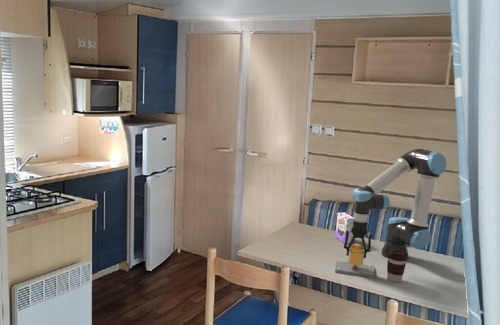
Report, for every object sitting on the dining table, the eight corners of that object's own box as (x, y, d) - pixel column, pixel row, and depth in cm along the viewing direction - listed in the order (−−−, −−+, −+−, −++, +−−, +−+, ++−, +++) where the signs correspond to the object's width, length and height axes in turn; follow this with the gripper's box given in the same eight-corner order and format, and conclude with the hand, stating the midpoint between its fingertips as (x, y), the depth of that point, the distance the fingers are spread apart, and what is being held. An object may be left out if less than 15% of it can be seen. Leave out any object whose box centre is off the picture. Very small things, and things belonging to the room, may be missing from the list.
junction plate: (373, 268, 263) (375, 255, 262) (374, 278, 250) (376, 264, 248) (336, 263, 267) (337, 249, 266) (334, 272, 254) (336, 258, 252)
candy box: (334, 236, 314) (337, 212, 311) (342, 236, 315) (345, 212, 313) (344, 244, 301) (347, 218, 298) (353, 243, 302) (356, 218, 300)
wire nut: (361, 261, 260) (363, 244, 259) (361, 266, 254) (363, 248, 252) (349, 260, 261) (351, 242, 260) (349, 264, 255) (351, 246, 254)
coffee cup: (389, 274, 256) (392, 247, 254) (407, 280, 250) (411, 252, 248) (381, 279, 249) (384, 251, 246) (399, 285, 243) (403, 257, 240)
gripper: (379, 221, 256) (373, 263, 259) (342, 216, 259) (337, 257, 263) (379, 225, 248) (374, 268, 252) (341, 219, 252) (336, 262, 256)
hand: (355, 262), depth 258 cm, fingers closed on wire nut, 6 cm apart
